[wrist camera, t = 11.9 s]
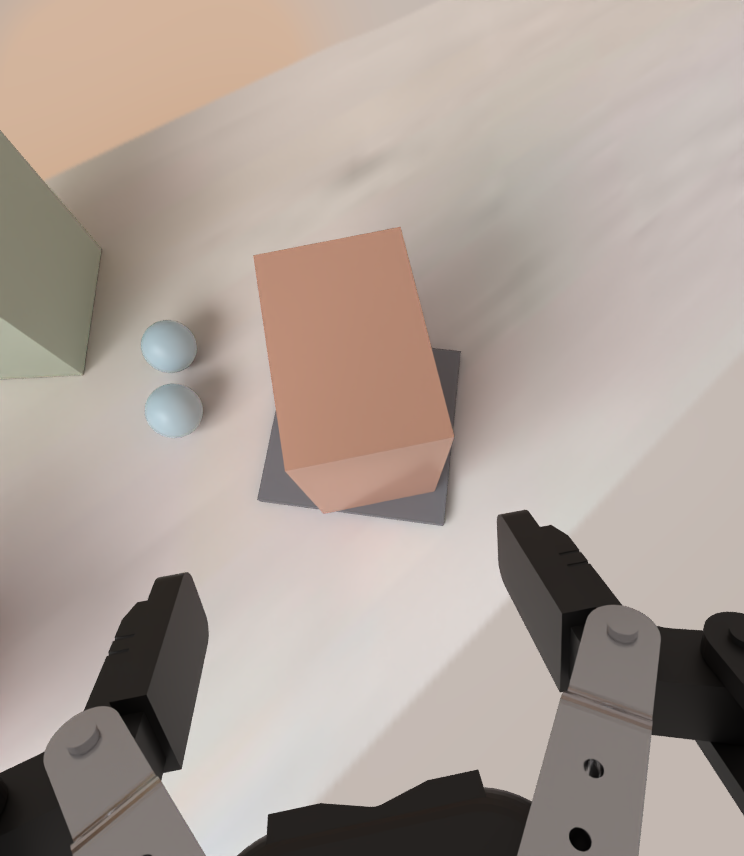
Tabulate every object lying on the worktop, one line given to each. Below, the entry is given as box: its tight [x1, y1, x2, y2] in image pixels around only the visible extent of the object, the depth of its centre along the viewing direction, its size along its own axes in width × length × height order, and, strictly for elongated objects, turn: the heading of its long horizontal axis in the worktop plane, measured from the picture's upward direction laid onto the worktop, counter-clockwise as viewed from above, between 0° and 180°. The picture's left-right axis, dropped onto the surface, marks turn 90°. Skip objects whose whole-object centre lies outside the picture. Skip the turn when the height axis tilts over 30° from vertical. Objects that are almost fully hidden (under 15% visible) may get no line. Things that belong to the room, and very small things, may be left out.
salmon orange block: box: [253, 227, 454, 514], centre depth 24 cm, size 9×6×10 cm, turn 11°
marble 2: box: [145, 384, 203, 438], centre depth 29 cm, size 3×3×3 cm
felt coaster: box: [257, 348, 461, 526], centre depth 29 cm, size 10×10×1 cm
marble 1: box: [141, 320, 197, 373], centre depth 30 cm, size 3×3×3 cm
